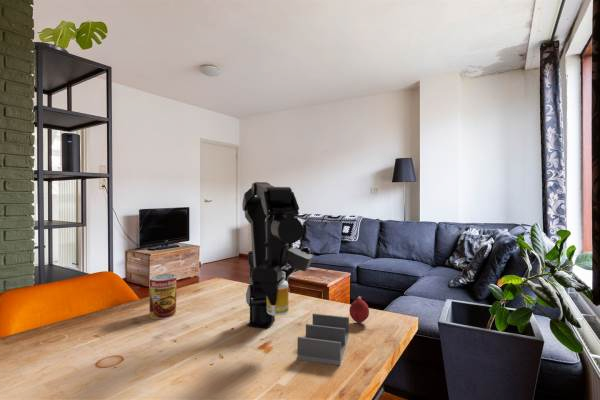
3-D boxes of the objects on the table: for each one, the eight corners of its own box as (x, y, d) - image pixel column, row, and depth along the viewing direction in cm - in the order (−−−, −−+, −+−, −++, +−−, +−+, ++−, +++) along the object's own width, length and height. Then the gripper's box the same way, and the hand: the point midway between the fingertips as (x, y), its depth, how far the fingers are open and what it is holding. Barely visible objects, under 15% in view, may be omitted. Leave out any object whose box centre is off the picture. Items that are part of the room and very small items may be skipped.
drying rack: (297, 359, 73) (297, 337, 73) (313, 331, 88) (313, 313, 88) (340, 365, 70) (340, 343, 70) (348, 335, 85) (348, 317, 85)
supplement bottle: (291, 309, 79) (291, 270, 79) (283, 317, 74) (283, 276, 73) (272, 306, 81) (271, 269, 80) (262, 314, 76) (262, 274, 75)
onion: (369, 328, 90) (369, 300, 90) (348, 326, 91) (349, 299, 91) (368, 320, 96) (369, 294, 96) (349, 319, 97) (349, 293, 97)
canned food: (153, 321, 95) (153, 281, 95) (146, 313, 101) (146, 276, 101) (179, 315, 100) (179, 277, 100) (172, 308, 106) (172, 272, 106)
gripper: (298, 244, 66) (298, 319, 66) (317, 234, 84) (317, 293, 84) (250, 242, 69) (249, 313, 69) (278, 233, 87) (278, 289, 87)
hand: (277, 301), depth 77 cm, fingers closed on supplement bottle, 5 cm apart
